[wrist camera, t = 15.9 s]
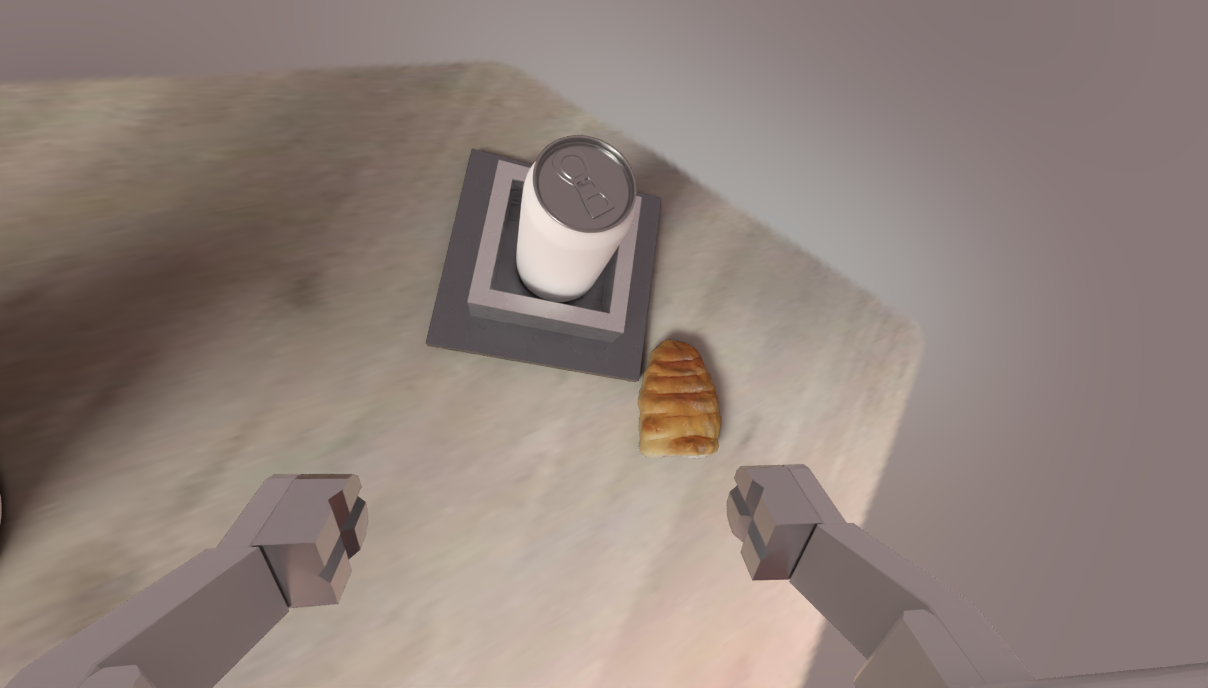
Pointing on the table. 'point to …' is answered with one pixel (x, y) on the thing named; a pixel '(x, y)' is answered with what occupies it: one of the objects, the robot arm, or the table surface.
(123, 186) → the table surface
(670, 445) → the pastry
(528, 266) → the can
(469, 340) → the collar
